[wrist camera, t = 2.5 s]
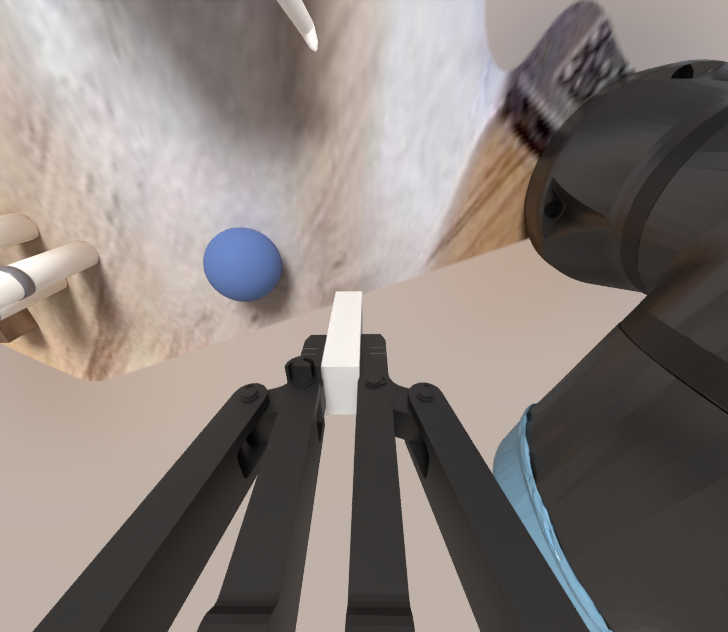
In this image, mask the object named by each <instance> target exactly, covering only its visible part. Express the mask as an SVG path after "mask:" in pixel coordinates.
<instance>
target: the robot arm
mask: <svg viewBox="0 0 728 632" xmlns="http://www.w3.org/2000/svg"><path fill="white" fill-rule="evenodd" d="M525 218H526V227H527V231H528V235H529V238H530V240H531V243H532V245H533V247H534V248H535V250H536V251H537V253H538V254H539V255H540V256H541V257H542V258H543V259H544V260H545V261H546V262H547V263H549V264H550V265H551V266H553V267H554V268H556V269H557V270H558V271H560V272H561V273H563V274H565V275H567V276H568V277H570V278H573V279H575V280H578V281H581V282H585V283H590V284H595V285H601V286H607V287H614V288H619V289H626V290H631V291H637V292H642V293H644V294H646V295H647V296H646V297H645V299H643V300H642V301H641V302H640V304H639V305H638V306H637V307H636V308H635V309H634V310H633V311H632V312H631V313H630V314H629V315H628V316H627V317H625V318H624V320H623V321H621V322H620V323H619V324H618V325H617V326H616V327H615V328H614V329H612V330H611V332H609V333H608V334H607V335H606V337H605V338H603V339H602V340H601V341H600V342H599V343H598V344H597V345H596V346H595V347H594V348H593V349H592V350H591V351H590V352H589V353H588V354H587V355H586V356H585V357H584V358H583V359H582V360H581V361H580V362H579V363H578V364H577V365H576V366H575V367H574V368H573V369H572V370H571V371H570V372H569V373H568V374H567V375H566V376H565V377H564V378H563V379H562V380H561V381H560V382H559V383H558V384H557V385H556V386H555V387H554V388H553V389H552V390H551V391H550V392H549V393H548V394H547V395H546V396H545V397H544V398H542V399H541V400H540V402H538V403H536V404H532V405H530V406H529V407H528V408H527V409H526V410H525V412H524V414H523V416H522V417H521V420H520V421H519V422H518V423H517V425H516V426H515V427H514V428H513V429H512V430H511V431H510V432H509V434H508V435H507V436H506V437H505V438H504V439H503V440H502V442H501V443H500V445H499V446H498V449H497V451H496V454H495V457H494V463H493V474H492V472H491V471H490V469H489V468H488V466H487V464H486V463H485V461H484V460H483V458H482V456H481V455H480V453H479V451H478V450H477V448H476V447H475V445H474V444H473V442H472V440H471V439H470V437H469V435H468V434H467V432H466V430H465V429H464V427H463V426H462V424H461V422H460V421H459V419H458V418H457V416H456V414H455V413H454V411H453V410H452V408H451V406H450V405H449V403H448V401H447V400H446V398H445V397H444V395H443V393H442V392H441V391H440V390H439V388H438V387H436V386H434V385H432V384H429V383H417V384H414V385H413V386H412V387H411V388H410V389H409V388H405V387H402V386H399V385H397V384H395V383H394V382H393V381H392V380H391V379H390V378H389V375H388V365H387V354H386V342H385V339H384V338H383V336H382V335H381V334H362V292H336V294H335V299H334V304H333V309H332V314H331V319H330V325H329V329H328V334H327V335H311V336H309V337H308V338H307V340H305V343H304V346H303V349H302V353H301V356H298V357H295V358H293V359H291V360H290V361H288V362H287V364H286V365H285V371H286V376H287V384H285V385H284V386H281V387H278V388H274V389H270V390H267V389H266V387H265V386H264V385H261V384H259V383H252V384H248V385H245V386H243V387H241V388H239V389H238V390H237V391H236V392H235V393H234V394H233V395H232V396H231V397H230V399H229V400H228V401H227V402H226V403H225V405H224V406H223V407H222V408H221V409H220V410H219V412H218V413H217V414H216V415H215V416H214V418H213V419H212V420H211V421H210V422H209V423H208V425H207V426H206V427H205V428H204V430H203V431H202V432H201V433H200V434H199V435H198V437H197V438H196V439H195V440H194V441H193V442H192V444H191V445H190V446H189V447H188V448H187V450H186V451H185V452H184V453H183V454H182V455H181V457H180V458H179V459H178V460H177V461H176V463H175V464H174V465H173V466H172V467H171V469H170V470H169V471H168V472H167V473H166V474H165V476H164V477H163V478H162V479H161V480H160V482H159V483H158V484H157V485H156V486H155V487H154V489H153V490H152V491H151V492H150V493H149V494H148V496H147V497H146V498H145V499H144V501H143V502H142V503H141V504H140V505H139V506H138V508H137V509H136V510H135V511H134V512H133V514H132V515H131V516H130V517H129V518H128V519H127V521H126V522H125V523H124V524H123V525H122V527H121V528H120V529H119V530H118V531H117V532H116V534H115V535H114V536H113V537H112V538H111V539H110V541H109V542H108V543H107V544H106V546H105V547H104V548H103V549H102V550H101V551H100V553H99V554H98V555H97V556H96V557H95V559H94V560H93V561H92V562H91V563H90V564H89V566H88V567H87V568H86V569H85V570H84V572H83V573H82V574H81V575H80V576H79V577H78V579H77V580H76V581H75V582H74V583H73V585H72V586H71V587H70V588H69V589H68V590H67V592H66V593H65V594H64V595H63V596H62V598H61V599H60V600H59V601H58V602H57V603H56V605H55V606H54V607H53V608H52V610H51V611H50V612H49V613H48V614H47V615H46V616H45V618H44V619H43V620H42V621H41V622H40V624H39V625H38V626H37V627H36V628H35V630H34V631H33V632H168V630H169V628H170V626H171V625H172V623H173V621H174V619H175V618H176V616H177V614H178V613H179V611H180V609H181V607H182V606H183V604H184V602H185V600H186V598H187V597H188V595H189V593H190V592H191V590H192V588H193V586H194V585H195V583H196V581H197V579H198V578H199V576H200V574H201V572H202V571H203V569H204V567H205V565H206V563H207V562H208V560H209V558H210V556H211V555H212V553H213V551H214V550H215V548H216V546H217V545H218V543H219V541H220V539H221V538H222V536H223V534H224V532H225V531H226V529H227V527H228V525H229V524H230V522H231V520H232V518H233V517H234V515H235V513H236V511H237V510H238V508H239V506H240V504H241V502H242V501H243V499H244V497H245V496H246V494H247V492H248V490H249V489H250V487H251V485H252V484H253V482H254V480H255V478H256V477H257V479H256V482H255V485H254V488H253V491H252V495H251V498H250V501H249V504H248V507H247V510H246V513H245V516H244V520H243V523H242V526H241V529H240V532H239V535H238V538H237V541H236V545H235V548H234V551H233V554H232V557H231V560H230V563H229V566H228V569H227V572H226V576H225V579H224V582H223V585H222V588H221V591H220V594H219V597H218V599H217V602H216V603H215V605H214V607H212V608H211V609H210V610H209V611H208V612H207V613H206V614H205V616H204V618H203V620H202V621H201V623H200V625H199V628H198V630H197V632H295V629H296V622H297V615H298V608H299V601H300V594H301V587H302V581H303V573H304V565H305V560H306V552H307V546H308V539H309V532H310V525H311V518H312V511H313V504H314V497H315V490H316V483H317V476H318V469H319V463H320V456H321V449H322V442H323V435H324V428H325V421H324V413H325V410H326V415H356V430H355V454H354V476H353V497H352V521H351V543H350V566H349V587H348V605H347V613H346V624H345V632H415V629H414V622H413V615H412V612H411V608H410V602H409V591H408V580H407V568H406V557H405V545H404V534H403V523H402V511H401V499H400V488H399V478H398V465H397V455H396V443H395V437H398V438H401V439H404V440H405V443H406V446H407V448H408V451H409V453H410V456H411V458H412V461H413V463H414V466H415V468H416V471H417V473H418V476H419V478H420V481H421V483H422V486H423V488H424V491H425V493H426V496H427V499H428V501H429V503H430V506H431V509H432V511H433V514H434V516H435V519H436V521H437V524H438V526H439V529H440V531H441V534H442V536H443V539H444V541H445V544H446V546H447V548H448V551H449V554H450V556H451V559H452V561H453V564H454V566H455V569H456V571H457V574H458V576H459V579H460V581H461V584H462V586H463V589H464V591H465V594H466V597H467V599H468V601H469V604H470V607H471V609H472V612H473V614H474V617H475V619H476V622H477V624H478V627H479V629H480V632H728V62H725V61H718V60H706V59H704V60H688V61H681V62H676V63H672V64H667V65H663V66H659V67H655V68H651V69H647V70H644V71H640V72H637V73H634V74H632V75H629V76H627V77H625V78H623V79H620V80H619V81H617V82H615V83H613V84H611V85H610V86H608V87H606V88H605V89H603V90H602V91H600V92H599V93H597V94H596V95H594V96H593V97H592V98H591V99H589V100H588V101H587V102H585V103H584V104H583V105H582V106H581V107H580V108H579V109H578V110H577V111H575V112H574V113H573V114H572V115H571V116H570V117H569V119H568V120H567V121H566V122H565V123H564V124H563V125H562V126H561V128H560V129H559V130H558V131H557V133H556V134H555V135H554V137H553V138H552V139H551V141H550V142H549V144H548V145H547V147H546V149H545V150H544V152H543V154H542V156H541V157H540V159H539V161H538V163H537V166H536V168H535V170H534V173H533V175H532V178H531V181H530V185H529V188H528V193H527V198H526V207H525ZM257 475H258V476H257Z"/></svg>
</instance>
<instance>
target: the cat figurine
mask: <svg viewBox="0 0 728 632" xmlns="http://www.w3.org/2000/svg"><path fill="white" fill-rule="evenodd" d="M277 2H278V3H279V4H280V6H281V7H282V8H283V10H284V11H285V13H286V14H287V15H288V17H289V18H290V20H291V21H292V22H293V24H294V25H295V26H296V28H297V29H298V31H299V32H300V33H301V35H302V36H303V38H304V40H305V41H306V43H307V44H308V46H309V48H310V49H312V50H313V51H314V52H315V51H316V50H317V49H318V39H317V35H316V31H315V27H314V23H313V21H312V19H311V17H310V15H309V13H308V11H307V9H306V7H305V5H304V4H303V2H302V0H277Z"/></svg>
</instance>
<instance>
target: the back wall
mask: <svg viewBox="0 0 728 632" xmlns="http://www.w3.org/2000/svg"><path fill="white" fill-rule="evenodd" d="M36 327H38V325H37V324H36V322H35V321H34V319H33V318H32V316H31V315H30V313H29V312H28V310H27V309H26V308H25V309H23V310H21V311H19V312H17V313H15V314H13V315H11V316H9V317H7V318H5V319H3V320H1V321H0V343H10V342H11V341H13V340H15V339H17V338H18V337H20V336H22V335H24V334H25V333H27V332H29V331H31V330H32V329H34V328H36Z"/></svg>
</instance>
